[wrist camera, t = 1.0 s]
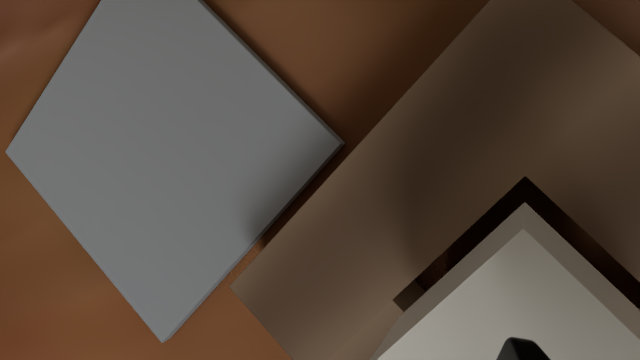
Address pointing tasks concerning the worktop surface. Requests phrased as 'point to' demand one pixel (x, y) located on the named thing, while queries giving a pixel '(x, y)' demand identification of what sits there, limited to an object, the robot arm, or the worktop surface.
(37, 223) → the worktop surface
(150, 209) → the grey mat
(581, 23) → the walnut bore block
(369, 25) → the worktop surface
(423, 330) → the end cover
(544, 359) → the robot arm
